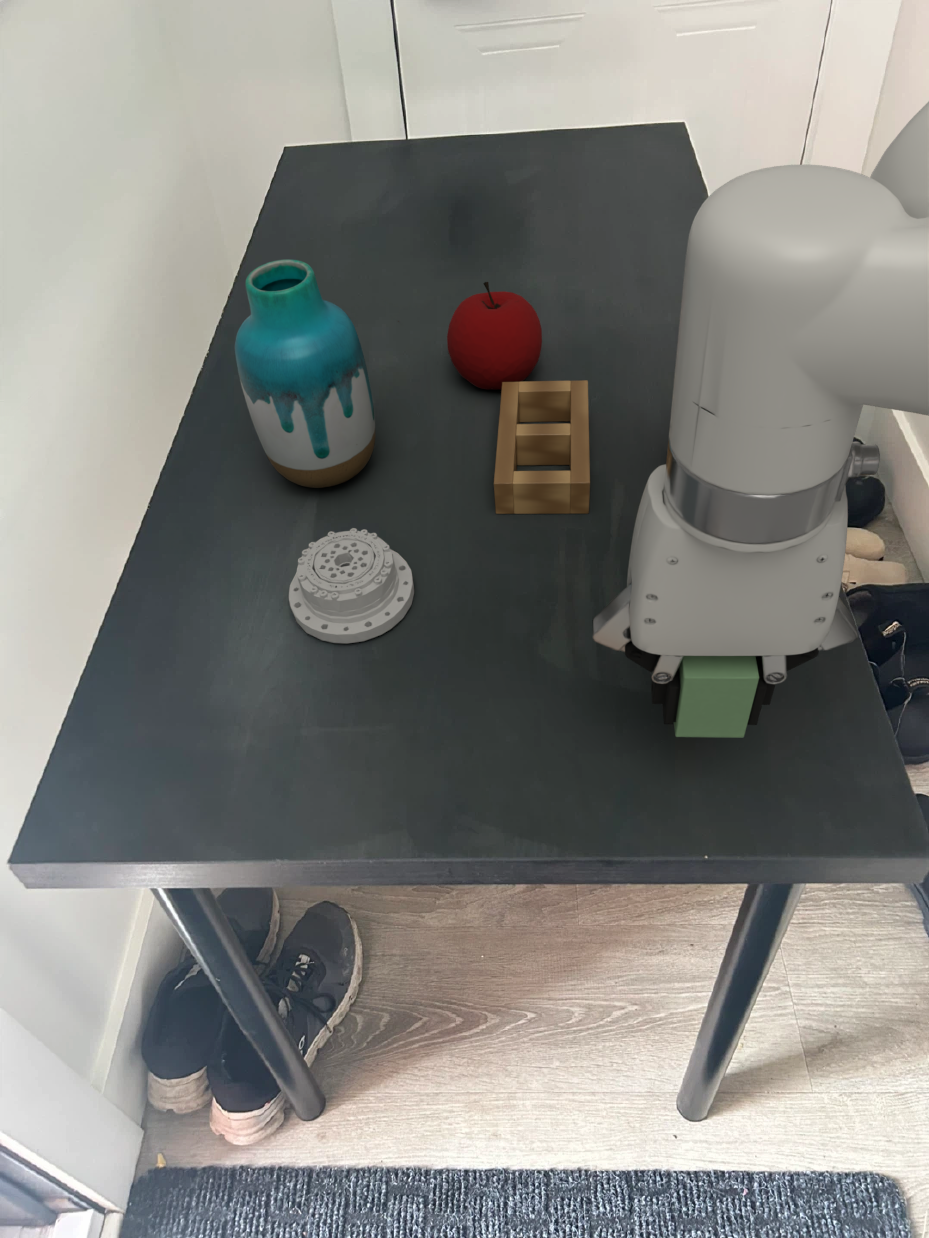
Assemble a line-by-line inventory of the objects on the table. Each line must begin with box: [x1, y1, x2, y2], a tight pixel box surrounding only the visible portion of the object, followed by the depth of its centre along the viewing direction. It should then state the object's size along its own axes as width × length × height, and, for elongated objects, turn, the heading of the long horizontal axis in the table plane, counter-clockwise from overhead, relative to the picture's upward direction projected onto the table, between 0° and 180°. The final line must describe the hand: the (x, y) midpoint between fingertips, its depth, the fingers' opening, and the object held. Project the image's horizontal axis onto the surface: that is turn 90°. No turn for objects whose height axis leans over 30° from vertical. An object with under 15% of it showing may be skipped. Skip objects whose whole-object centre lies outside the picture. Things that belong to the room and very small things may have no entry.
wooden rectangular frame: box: [493, 379, 591, 515], centre depth 79 cm, size 8×14×4 cm, turn 176°
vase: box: [234, 258, 376, 489], centre depth 75 cm, size 11×11×19 cm
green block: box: [673, 656, 759, 739], centre depth 52 cm, size 4×4×6 cm
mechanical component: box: [288, 527, 415, 644], centre depth 70 cm, size 10×4×10 cm
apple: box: [446, 281, 543, 391], centre depth 86 cm, size 9×9×10 cm
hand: (707, 703), depth 53 cm, fingers closed on green block, 4 cm apart
